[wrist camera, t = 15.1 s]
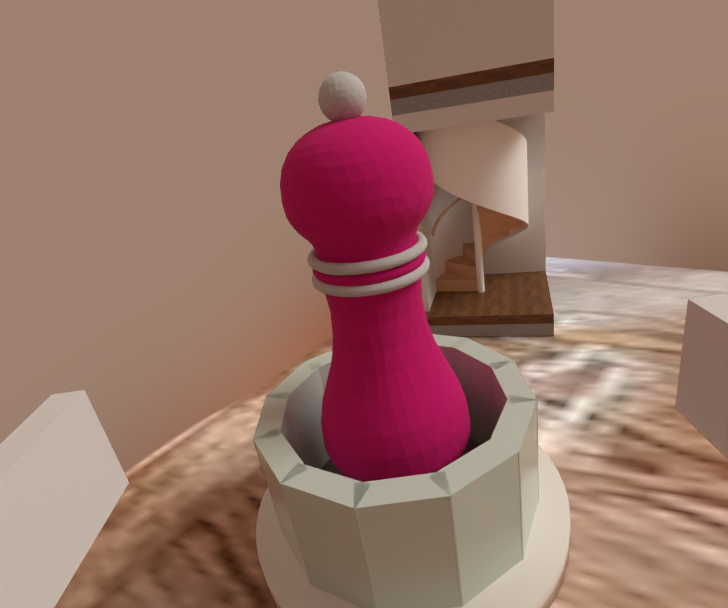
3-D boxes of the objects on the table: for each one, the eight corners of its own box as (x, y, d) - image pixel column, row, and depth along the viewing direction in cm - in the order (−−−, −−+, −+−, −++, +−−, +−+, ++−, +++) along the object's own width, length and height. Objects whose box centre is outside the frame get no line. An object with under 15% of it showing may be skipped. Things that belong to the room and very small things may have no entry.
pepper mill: (311, 496, 25) (203, 96, 17) (403, 426, 30) (348, 76, 22) (410, 579, 20) (319, 63, 12) (504, 480, 24) (481, 45, 16)
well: (512, 403, 32) (508, 305, 30) (640, 654, 18) (657, 509, 15) (285, 435, 33) (259, 342, 30) (229, 699, 19) (167, 571, 16)
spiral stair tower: (420, 337, 43) (358, -154, 29) (435, 290, 52) (393, -100, 39) (553, 335, 40) (554, -222, 26) (545, 286, 49) (542, -145, 35)
